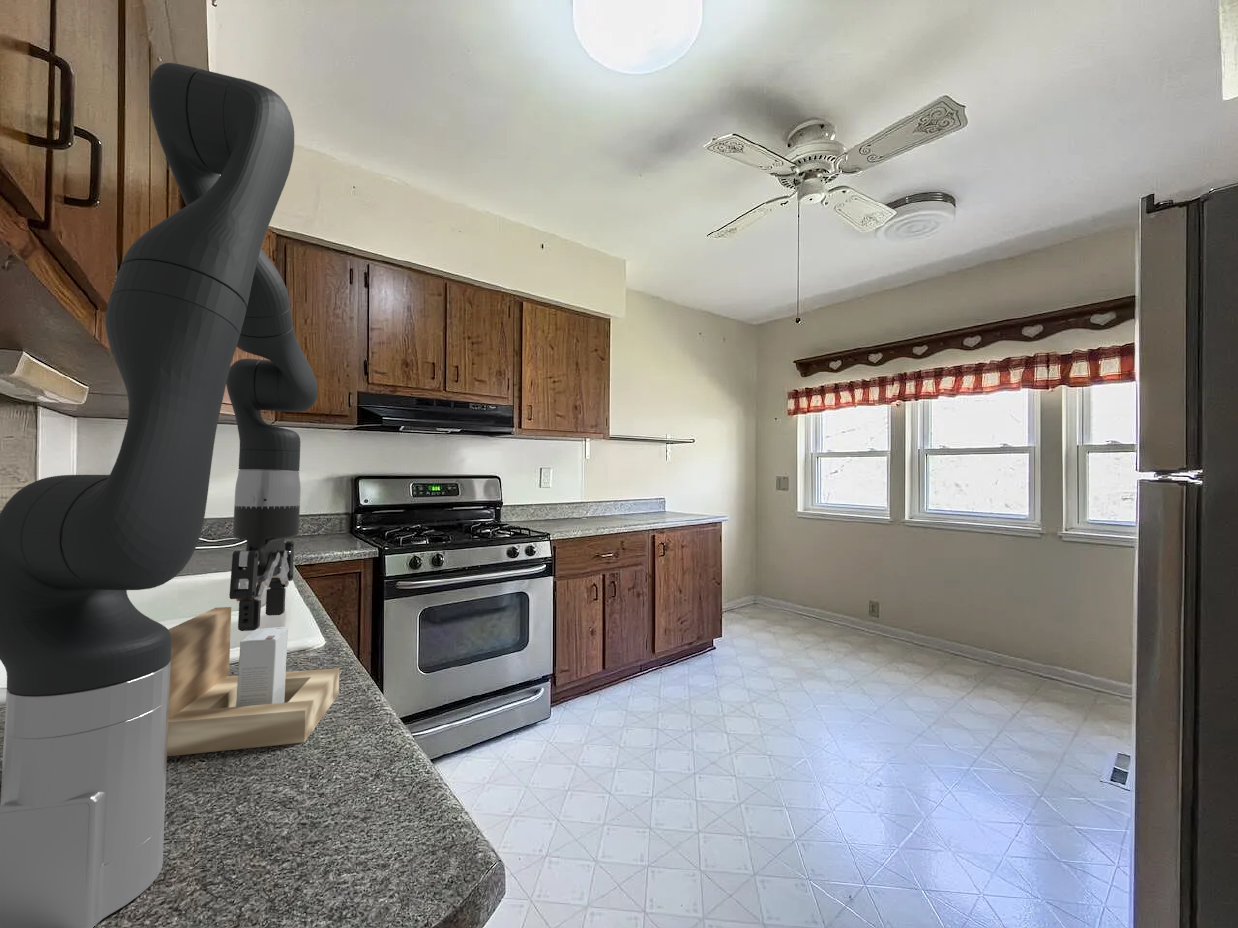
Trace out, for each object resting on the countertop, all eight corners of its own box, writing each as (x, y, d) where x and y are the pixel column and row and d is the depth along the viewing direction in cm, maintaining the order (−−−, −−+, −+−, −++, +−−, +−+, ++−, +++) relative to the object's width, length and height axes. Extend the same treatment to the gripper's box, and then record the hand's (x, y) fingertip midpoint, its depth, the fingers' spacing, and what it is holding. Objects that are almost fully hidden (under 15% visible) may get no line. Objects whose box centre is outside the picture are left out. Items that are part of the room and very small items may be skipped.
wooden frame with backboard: (303, 744, 64) (306, 630, 65) (140, 760, 60) (145, 639, 61) (339, 693, 80) (342, 602, 80) (212, 703, 76) (215, 607, 76)
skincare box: (249, 715, 72) (252, 628, 72) (286, 711, 73) (289, 625, 74) (232, 736, 66) (236, 640, 67) (273, 730, 68) (276, 637, 68)
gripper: (278, 504, 65) (273, 634, 64) (314, 502, 79) (310, 609, 78) (210, 504, 63) (203, 638, 63) (259, 502, 77) (254, 611, 76)
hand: (262, 621), depth 70 cm, fingers open, 8 cm apart
